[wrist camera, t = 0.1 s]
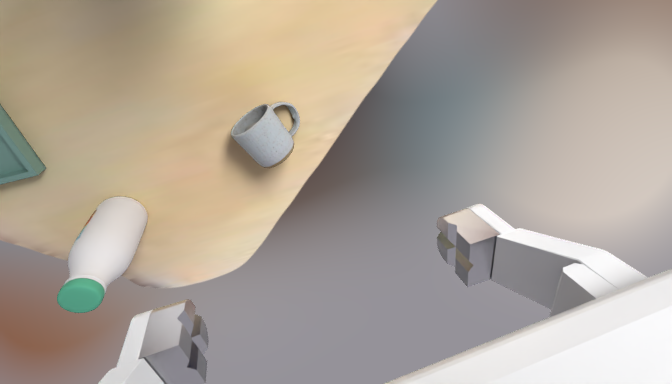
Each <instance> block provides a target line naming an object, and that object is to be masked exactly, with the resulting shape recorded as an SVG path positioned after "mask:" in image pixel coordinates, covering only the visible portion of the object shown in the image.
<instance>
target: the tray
mask: <svg viewBox="0 0 672 384" xmlns="http://www.w3.org/2000/svg"><path fill="white" fill-rule="evenodd" d="M45 169H46V167H45V166H44V164H43V163H42V162H41V160H40V159H39V157H38V156H37V155H36V153H35V152H34V150H33V149H32V148H31V146H30V145H29V143H28V142H27V141H26V139H25V138H24V137H23V135H22V134H21V132H20V131H19V130H18V128H17V127H16V125H15V124H14V123H13V121H12V120H11V118H10V117H9V116H8V114H7V113H6V111H5V110H4V109H3V107H2V106H1V104H0V184H4V183H8V182H12V181H16V180H20V179H24V178H28V177H32V176H36V175H39V174H40V173H41V172H42V171H43V170H45Z"/></svg>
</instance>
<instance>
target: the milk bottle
mask: <svg viewBox="0 0 672 384" xmlns="http://www.w3.org/2000/svg"><path fill="white" fill-rule="evenodd" d="M147 220H148V214H147V211H146V209H145V208H144V207H143V205H142V204H141V203H139V202H138V201H136V200H134V199H132V198H129V197H123V196H117V197H112V198H108V199H106V200H104V201H103V202H102V203H100V205H99V206H98V207H97V208H96V210H95V211H94V213H93V214H92V216H91V217H90V219H89V220H88V222H87V223H86V225H85V226H84V228H83V230H82V231H81V233H80V234H79V236H78V237H77V239H76V241H75V242H74V244H73V246H72V248H71V250H70V253H69V257H68V268H69V274H70V275H69V279H68V280H66V282H65V283H64V285H63V287H62V288H61V289H60V291H59V293H58V296H57V301H58V304H59V305H60V306H61V307H62V308H64V309H65V310H67V311H70V312H75V313H85V312H89V311H92V310H94V309H96V308H97V307H98V306H99V305H100V304H101V302H102V300H103V298H104V295H105V293H106V287H107V286H108V285H109V284H110V283H111V282H113V281H114V280H116V279H117V278H119V277H120V276H121V275H122V274H123V273H124V272H125V271H126V269H127V268H128V266H129V265H130V263H131V261H132V259H133V257H134V254H135V252H136V250H137V247H138V245H139V242H140V239H141V237H142V234H143V232H144V229H145V227H146V224H147Z"/></svg>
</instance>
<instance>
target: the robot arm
mask: <svg viewBox="0 0 672 384" xmlns="http://www.w3.org/2000/svg"><path fill="white" fill-rule="evenodd" d="M437 228H438V229H439V230H440V231H441V232H440V234H439V235H438V237H437V245H438V249H439V252H440V254H441V256H442V258H443V259H444V260H445V261H446V263H447V264H450V265H452V266H455V273H456V274H457V275H458V277H459V278H460V279H461V280H462V281H463V282H464V283H465V285H466V286H467V287H469V286H472V285H475V284H478V283H481V282H484V281H487V280H490V279H491V280H492V281H494V282H496V283H498V284H500V285H502V286H504V287H506V288H508V289H510V290H512V291H514V292H516V293H518V294H520V295H523V296H524V297H526V298H529V299H531V300H533V301H535V302H537V303H539V304H541V305H543V306H545V307H547V308H549V309H551V313H550V317H549V318H547V319H544V320H542V321H539V322H537V323H534V324H532V325H529V326H527V327H524V328H522V329H519V330H517V331H514V332H512V333H509V334H507V335H504V336H502V337H499V338H497V339H494V340H492V341H489V342H487V343H484V344H482V345H479V346H477V347H474V348H472V349H469V350H467V351H464V352H462V353H459V354H457V355H454V356H452V357H449V358H447V359H444V360H442V361H439V362H437V363H434V364H432V365H429V366H427V367H424V368H422V369H420V370H417V371H414V372H412V373H409V374H407V375H404V376H402V377H400V378H397V379H394V380H392V381H389V382H387V383H384V384H672V269H669V270H667V271H664V272H662V273H660V274H657V275H654V276H652V277H649V278H648V277H646V276H644V275H643V274H641V273H640V272H638V271H637V270H635V269H634V268H632V267H630V266H628V265H627V264H626V263H624V262H623V261H621V260H620V259H618V258H616V257H615V256H613V255H612V254H610V253H609V252H607V251H605V250H602V249H598V248H594V247H589V246H586V245H582V244H579V243H574V242H571V241H567V240H563V239H559V238H555V237H551V236H548V235H544V234H540V233H536V232H532V231H528V230H525V229H521V228H519V229H516V230H515V229H514V228H513V227H511V226H510V225H509V224H508V223H506V222H505V221H504V220H502V219H501V218H500V217H498V216H497V215H496V214H495V213H493V212H492V211H491V210H489V209H488V208H487V207H485V206H484V205H482V204H477V205H474V206H471V207H468V208H465V209H462V210H459V211H456V212H453V213H450V214H447V215H444V216H442V217H439V218H438V220H437ZM207 348H208V332H207V328H206V325H205V322H204V320H203V319H202V317H201V316H198V315H195V305H194V304H193V302H192V301H191V300H189V299H187V300H184V301H180V302H177V303H174V304H170V305H167V306H163V307H160V308H157V309H154V310H152V311H148V312H145V313H141V314H138V315H135V316H134V318H133V319H132V320H131V323H130V326H129V329H128V332H127V336H126V338H125V342H124V345H123V348H122V351H121V354H120V357H119V361H118V363H117V367H116V368H113V369H111V370H110V371H109V372H108V373H107V374H106V375H105V376H104V377H103V379H102V380H101V381H100V382H99V383H98V384H204V383H206V370H207V361H206V359H205V357H204V356H203V354H204V353H205V351H206V350H207Z"/></svg>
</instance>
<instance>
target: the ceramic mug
mask: <svg viewBox="0 0 672 384" xmlns="http://www.w3.org/2000/svg"><path fill="white" fill-rule="evenodd" d="M281 105H286V106H287V107H288V109H289V110H290V112H291V114H292V118H293V119H294V125H293V127H292V129H291V130H290V132H288V131H287V129H286V128H285V127H284V126H283V124H282V123H281V121H280V120H279V118H278V117H277V115H276V114H275V113H274V111H273V109H274V108H276V107H278V106H281ZM299 124H300V117H299V114H298V111H297V110H296V108H295V107H294V106H293V105H292V104H290V103H287V102H278V103H275V104H273V105H271V106H269V105H268V104H263V105H260V106H258V107H255V108H254V109H253V110H251V111H249V112H248V113H247V114H245V115H244V116H243V117H242V118H241V119H240V120H239V121H238V122H237V123H236V124H235V125H234V127H233V129H232V131H231V136H232V138H233V139H234V140H235V141H236V142H237V143H238V144H239V145H240V146H241V147H242V148H243V149H244V150H245V151H246V152H247V153H248V154H249V155H250V156H251V157H252V158H253V159H254V160H255V161H256V162H257V163H258V164H260V165H261V166H263V167H265V168H272V167H275V166H277V165H279V164H281V163H282V162H283V161H285V160H286V159H287V158H288V157H289V155H290V154H291V153H292V151H293V148H294V141H293V139H292V136H293V135H294V134H295V133H296V131H297V130H298V127H299Z"/></svg>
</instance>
